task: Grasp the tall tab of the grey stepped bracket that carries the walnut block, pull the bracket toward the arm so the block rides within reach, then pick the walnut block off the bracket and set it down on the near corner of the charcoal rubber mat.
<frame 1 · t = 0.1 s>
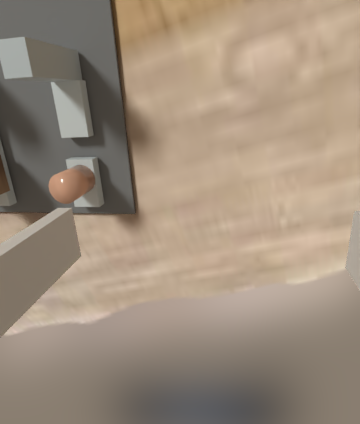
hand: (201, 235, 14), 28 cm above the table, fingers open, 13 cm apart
mat: (29, 106, 43), on the table
strip A broken: (82, 133, 43), resting on mat
peach egg shape: (82, 178, 43), point 2 cm above the table, touching strip A broken
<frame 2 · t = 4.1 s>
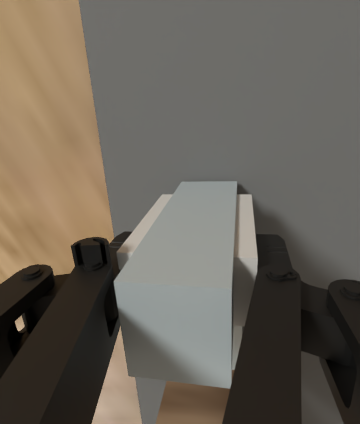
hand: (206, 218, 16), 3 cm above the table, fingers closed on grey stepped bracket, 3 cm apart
block: (211, 396, 21), point 2 cm above the table, touching grey stepped bracket
mat: (332, 274, 19), on the table
grey stepped bracket: (204, 390, 16), point 6 cm above the table, slide at 0.0 cm, touching block, gripper
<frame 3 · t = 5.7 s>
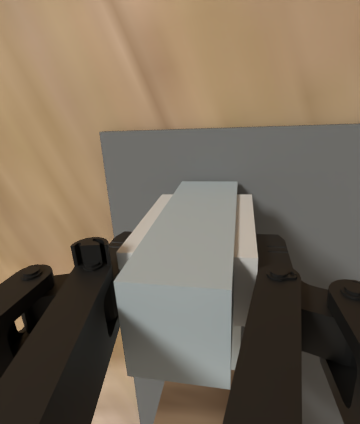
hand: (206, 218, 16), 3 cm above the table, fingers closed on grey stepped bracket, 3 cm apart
block: (210, 396, 21), point 2 cm above the table, touching grey stepped bracket
mat: (319, 359, 21), on the table
grey stepped bracket: (202, 390, 16), point 6 cm above the table, slide at 6.9 cm, touching block, gripper
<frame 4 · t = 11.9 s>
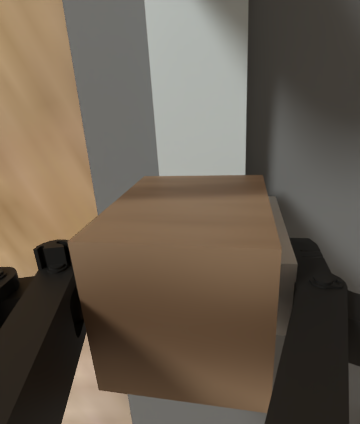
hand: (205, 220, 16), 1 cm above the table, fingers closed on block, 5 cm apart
block: (203, 229, 15), point 2 cm above the table, touching gripper, grey stepped bracket
mat: (346, 257, 16), on the table
grey stepped bracket: (185, 135, 10), point 6 cm above the table, slide at 11.5 cm, touching block
when the fingers open (1 cm above the table, at t = 16.9 s): block drops 2 cm, resting on mat.
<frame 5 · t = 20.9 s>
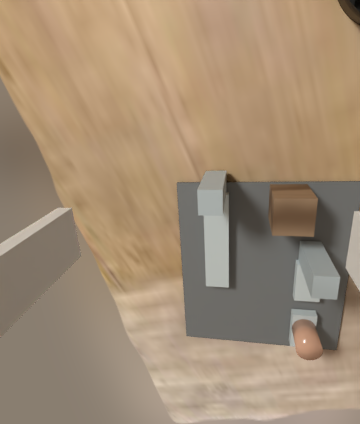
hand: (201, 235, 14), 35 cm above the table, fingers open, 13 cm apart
block: (287, 201, 47), resting on mat
mat: (260, 270, 53), on the table
strip A broken: (304, 291, 53), resting on mat
peach egg shape: (303, 328, 53), point 2 cm above the table, touching strip A broken
grey stepped bracket: (214, 244, 46), point 6 cm above the table, slide at 11.8 cm
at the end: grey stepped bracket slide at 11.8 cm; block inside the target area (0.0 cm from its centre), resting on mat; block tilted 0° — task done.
